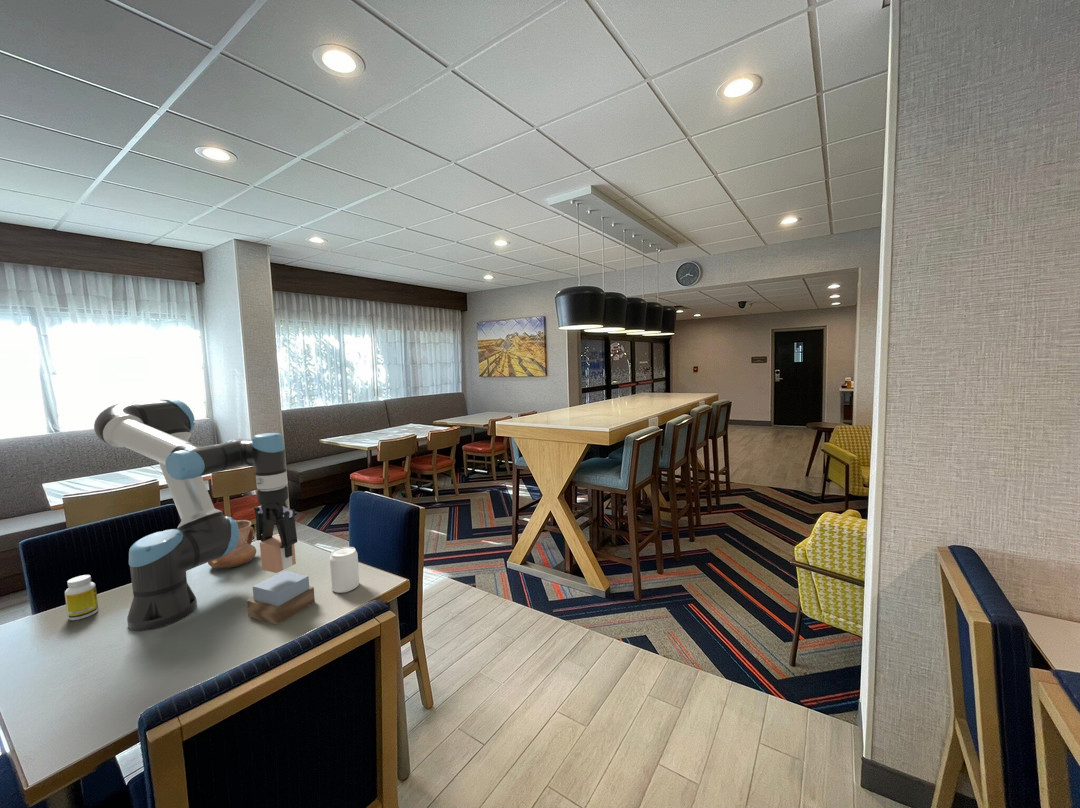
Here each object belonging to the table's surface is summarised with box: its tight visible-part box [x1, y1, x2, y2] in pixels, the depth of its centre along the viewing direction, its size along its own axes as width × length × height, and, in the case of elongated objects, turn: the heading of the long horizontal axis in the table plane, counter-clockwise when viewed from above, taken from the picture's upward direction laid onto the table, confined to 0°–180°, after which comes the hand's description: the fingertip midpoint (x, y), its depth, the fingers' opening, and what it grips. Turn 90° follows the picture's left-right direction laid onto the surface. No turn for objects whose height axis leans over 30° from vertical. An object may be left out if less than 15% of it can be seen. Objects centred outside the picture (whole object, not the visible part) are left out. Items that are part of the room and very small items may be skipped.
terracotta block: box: [259, 534, 297, 574], centre depth 126 cm, size 6×6×8 cm
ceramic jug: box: [207, 519, 257, 570], centre depth 158 cm, size 18×14×14 cm
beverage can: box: [329, 546, 360, 594], centre depth 139 cm, size 8×8×12 cm
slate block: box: [252, 570, 310, 606], centre depth 127 cm, size 10×10×4 cm
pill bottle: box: [64, 574, 99, 621], centre depth 126 cm, size 6×6×11 cm
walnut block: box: [246, 585, 316, 625], centre depth 128 cm, size 12×12×5 cm
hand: (279, 565), depth 126 cm, fingers closed on terracotta block, 6 cm apart
